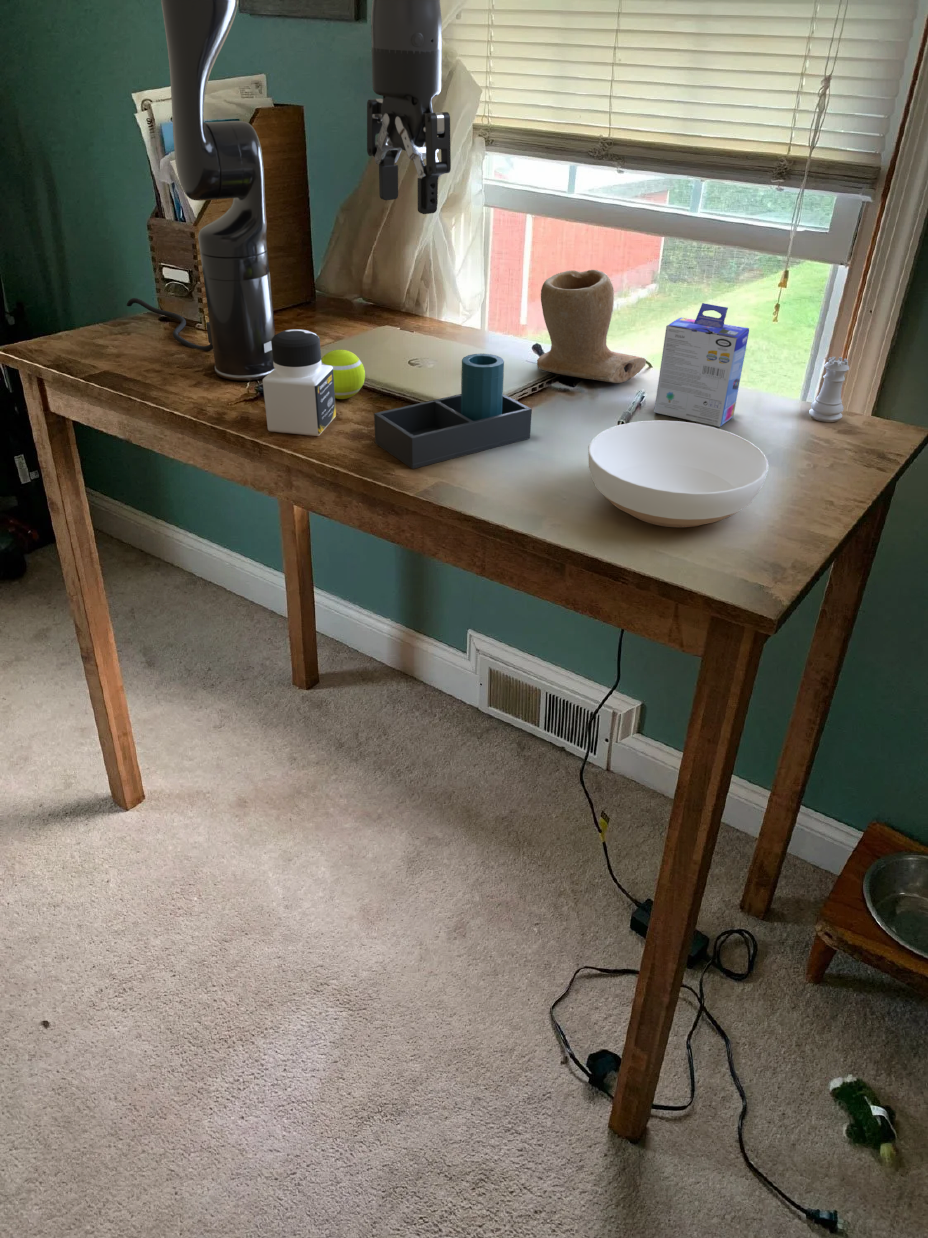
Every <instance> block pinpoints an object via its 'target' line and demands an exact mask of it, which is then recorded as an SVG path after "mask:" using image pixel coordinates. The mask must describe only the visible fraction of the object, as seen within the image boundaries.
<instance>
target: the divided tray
mask: <svg viewBox="0 0 928 1238" xmlns="http://www.w3.org/2000/svg"><path fill="white" fill-rule="evenodd" d="M532 412H533V410H532V408H531V407H529V406H527V405H525V404H523V403H521V402H520V401H518V400H515V399H514V398H511V397H510V396H508V395H506V394H504V393H503V402H502V414H501V415H497V416H493V417H489V418H485V419H480V420H476V421H472V420H470V419H469V418H467V417H465V416H464V415H462V414H461V393H460V394H453V395H450V396H446V397H442V398H436V399H432V400H428V401H423V402H419V403H415V404H411V405H410V404H409V405H405V406H400V407H397V408H392V409H388V410H383V411H378V412H374V413H373V421H374V422H373V425H374V444H376V445H377V446H379V447H380V448H382V449H383V450H384V451H386V452H387V453H389V454H390V455H391V456H393V457H394V458H396V459H397V460H399V461H400V462H401V463H403V464H405V465H406V466H407V467H409V468H410V469H412V470H414V469H418V468H422V467H427V466H429V465H433V464H437V463H440V462H444V461H445V462H446V461H449V460H452V459H453V460H454V459H456V458H461V457H464V456H468V455H471V454H475V453H480V452H483V451H486V450H487V451H488V450H491V449H494V448H498V447H503V446H507V445H511V444H513V443H518V442H521V441H526V440H529V439H531V433H532V432H531V431H532V415H533V413H532Z"/></svg>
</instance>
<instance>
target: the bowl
mask: <svg viewBox="0 0 928 1238" xmlns="http://www.w3.org/2000/svg"><path fill="white" fill-rule="evenodd" d="M587 448H588V452H587V454H588V455H587V456H588V469H589V470H588V471H589V473H590V476H591V480H592V482H593V485H594V486H595V488H596V489H597V490H598V491H599V493H600V494H601V495H603V496H604V498H606V499H607V500H608V502H610V503H611V505H613V506H615V507H616V508H618V509H619V510H620V511H622V512H625V513H626V514H629V515H631V516H632V517H634V518H636V519H638V520H640V521H642V522H645V523H648V524H651V525H655V526H661V527H667V528H692V527H698V526H703V525H706V524H712V523H716V522H720V521H722V520H724V519H728V518H729V517H731V516H733V515H735V514H737V513H739V512H740V511H742V510H745V509H746V508H747V507H748V506H750V505H751V504H752V503H753V501H754V500H755V498H756V497H757V496H758V494H759V492H760V491H761V489H762V488H763V486H764V485H765V481H766V478H767V475H768V473H769V466H770V463H769V460H768V458H767V456H766V455H765V453H764V452H763V451H762V450H761V449H760V448H759V447H758V446H756V445H755V444H753V442H751V441H750V440H747V439H745V438H744V437H742V436H740V435H738V434H735V433H733V432H730V431H727V430H724V429H721V428H719V427H715V426H711V425H706V424H702V423H697V422H696V423H695V422H686V421H680V420H679V421H678V420H641V421H640V420H639V421H631V422H628V423H623V424H622V423H621V424H617V425H614V426H612V427H609V428H607V429H604V430H602V431H601V432H599V433H598V434H596V436H594V437H593V438H592V439H591V440H590V443H589V444H588V447H587Z"/></svg>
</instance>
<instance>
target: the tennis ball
mask: <svg viewBox="0 0 928 1238" xmlns="http://www.w3.org/2000/svg"><path fill="white" fill-rule="evenodd" d="M321 365H330V366H332V367H333V376H334V392H335V400H346V399H350V398H352V397H354V396H356V394H358V393H359V392H360V390H361V389H362V388H363V385H364V384H365V380H366V371H365V367H364V363H362V361H361V359H360V358H359V357H358V355H356V354H355V353H353V352H352V351H351V350H347V349H342V348H341V349H333V350H331V351H329V352H327V353H325V354H324V355H323V356H321Z"/></svg>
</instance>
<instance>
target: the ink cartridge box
mask: <svg viewBox="0 0 928 1238" xmlns="http://www.w3.org/2000/svg"><path fill="white" fill-rule="evenodd" d="M728 309H729V307H728V306H720V305H716V304H710V303H705V302H702V303H701V306H700V308H699V311H698V313H697V314H696V315H697V316H696V317H695V319H693V318H687V317H678V318H677V319H675V320H673V321H672V322H670V323H669V324H667V325H666V327H665V333H664V340H663V348H662V353H661V361H660V368H659V376H658V383H657V390H656V395H655V403H654V409H653V412H654V413H656V414H659V415H665V416H668V417H669V416H670V417H673V418H677V419H683V420H687V421H692V422H694V423H695V422H696V423H699V424H703V425H708V426H712V427H716V428H721V427H722V426H723V425H724V424H726V423H728V421H730V420H732V419H733V418H734V416H735V410H736V404H737V400H738V399H737V398H738V394H739V387H740V382H741V377H742V373H743V367H744V362H745V356H746V351H747V345H748V340H749V335H750V334H749V333H750V328H749V327H746V326H745V327H744V326H739V325H732V324H725V320H726V318H727V313H728ZM708 311H714V312H716V313H718V314H720V317H715V316H709V315H704V313H705V312H708Z"/></svg>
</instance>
